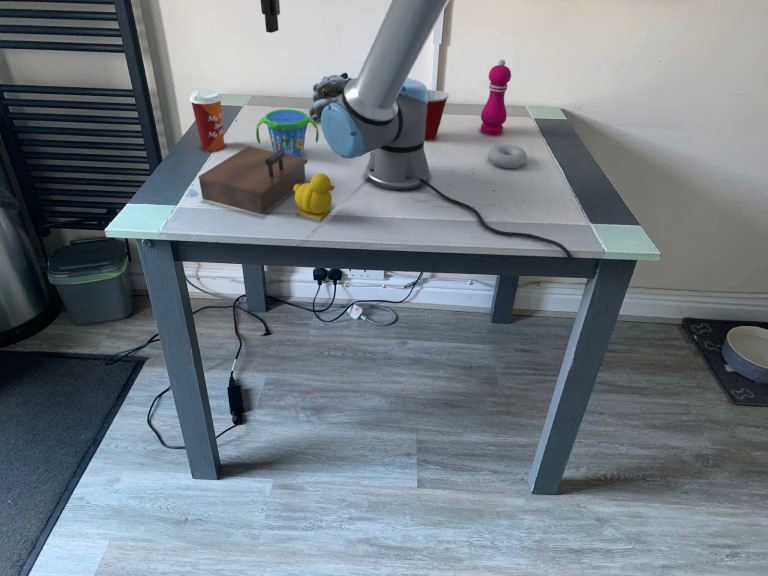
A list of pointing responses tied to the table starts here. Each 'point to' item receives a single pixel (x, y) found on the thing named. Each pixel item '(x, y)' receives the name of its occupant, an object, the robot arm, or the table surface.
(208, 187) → the chest
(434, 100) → the plastic cup
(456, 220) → the table surface
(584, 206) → the table surface
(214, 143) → the paper cup
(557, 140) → the table surface
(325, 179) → the duck
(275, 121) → the snack cup
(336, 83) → the lucky cat figurine
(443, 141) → the table surface
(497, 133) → the pepper mill
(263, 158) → the lid
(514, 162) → the donut
